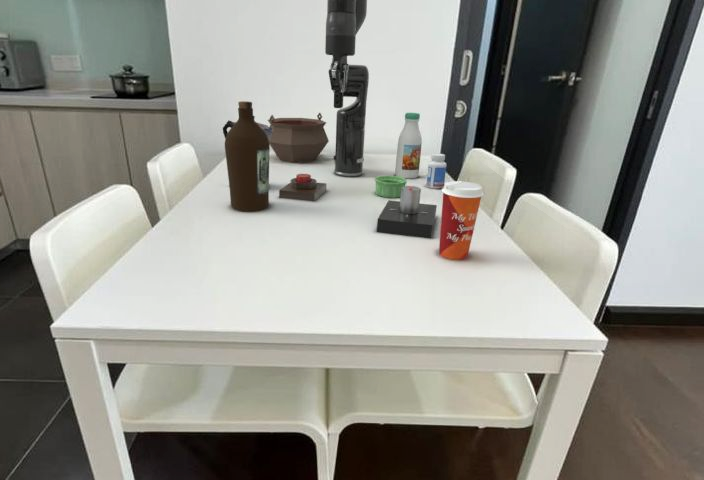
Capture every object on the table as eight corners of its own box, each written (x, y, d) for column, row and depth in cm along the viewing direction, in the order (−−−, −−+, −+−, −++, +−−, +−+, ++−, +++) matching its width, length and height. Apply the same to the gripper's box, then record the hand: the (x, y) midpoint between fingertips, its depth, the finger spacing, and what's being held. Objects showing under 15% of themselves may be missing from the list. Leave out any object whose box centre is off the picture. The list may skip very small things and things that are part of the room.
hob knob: (400, 207, 110) (402, 183, 108) (419, 209, 109) (421, 185, 107) (398, 213, 106) (400, 188, 104) (417, 215, 106) (420, 190, 103)
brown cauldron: (303, 150, 190) (304, 108, 183) (341, 161, 174) (343, 115, 167) (252, 156, 176) (250, 111, 169) (288, 168, 160) (287, 118, 153)
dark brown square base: (293, 187, 136) (293, 174, 135) (326, 190, 134) (326, 177, 132) (279, 198, 126) (278, 183, 124) (314, 201, 124) (314, 187, 122)
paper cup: (450, 264, 88) (461, 192, 82) (425, 250, 94) (434, 182, 88) (481, 258, 91) (494, 188, 86) (455, 245, 98) (465, 179, 92)
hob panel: (387, 211, 118) (388, 199, 116) (435, 216, 115) (436, 204, 114) (376, 231, 103) (377, 218, 102) (430, 238, 101) (432, 224, 100)
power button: (299, 179, 131) (299, 173, 130) (312, 180, 130) (312, 174, 129) (294, 182, 127) (294, 176, 126) (308, 183, 126) (308, 177, 125)
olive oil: (221, 210, 114) (213, 102, 104) (239, 199, 124) (233, 99, 113) (262, 214, 112) (258, 104, 102) (276, 202, 122) (274, 101, 111)
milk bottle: (392, 177, 153) (397, 113, 144) (398, 172, 159) (403, 111, 151) (415, 180, 150) (422, 115, 141) (420, 175, 156) (427, 113, 148)
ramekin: (369, 196, 131) (370, 180, 129) (379, 188, 138) (380, 174, 136) (400, 200, 128) (402, 184, 126) (408, 192, 135) (410, 177, 133)
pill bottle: (446, 186, 143) (450, 154, 139) (439, 189, 139) (444, 157, 135) (430, 183, 146) (433, 152, 142) (423, 187, 142) (426, 154, 138)
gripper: (349, 33, 109) (346, 111, 116) (360, 36, 121) (357, 106, 128) (318, 32, 110) (317, 109, 118) (332, 35, 122) (331, 105, 129)
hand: (338, 107), depth 123 cm, fingers closed
